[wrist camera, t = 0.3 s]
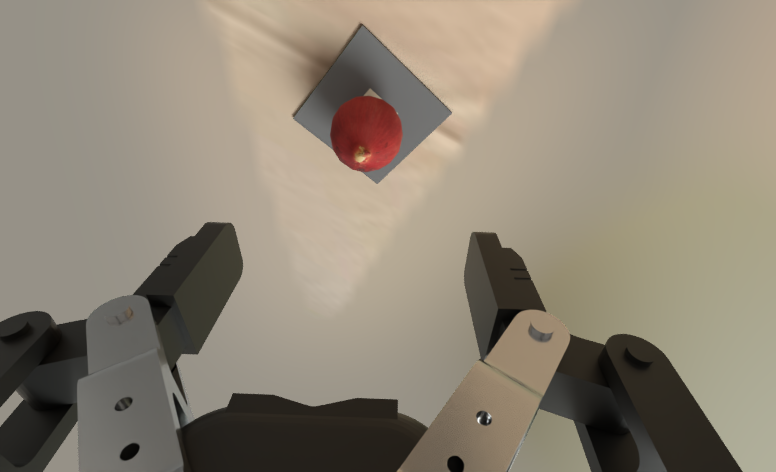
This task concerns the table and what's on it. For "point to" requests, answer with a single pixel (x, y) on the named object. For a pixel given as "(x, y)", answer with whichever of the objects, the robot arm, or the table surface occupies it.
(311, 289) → the table surface
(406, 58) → the table surface
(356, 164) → the onion
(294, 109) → the table surface
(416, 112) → the mat
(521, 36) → the table surface
